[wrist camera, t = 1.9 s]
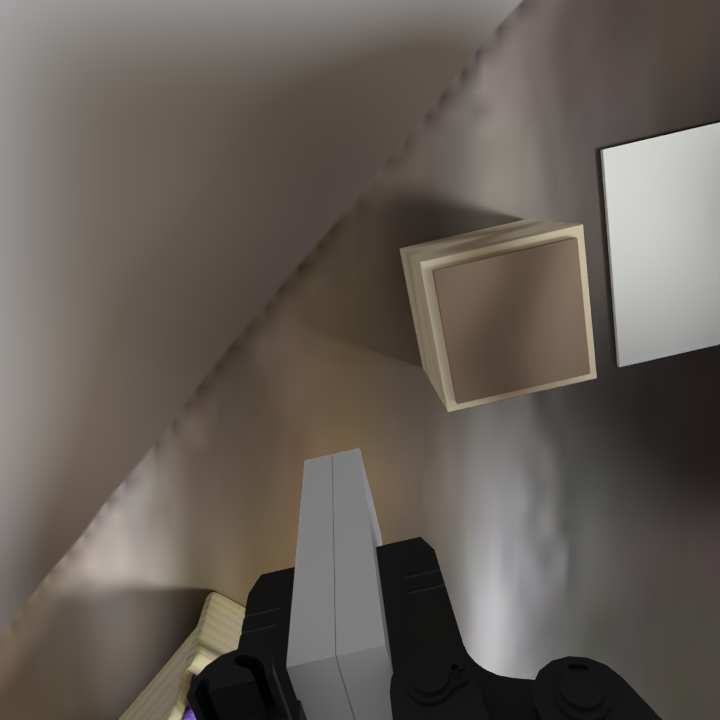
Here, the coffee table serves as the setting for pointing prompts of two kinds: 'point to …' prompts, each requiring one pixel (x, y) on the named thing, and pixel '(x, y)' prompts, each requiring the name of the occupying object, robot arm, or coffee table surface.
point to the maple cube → (502, 311)
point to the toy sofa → (190, 662)
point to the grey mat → (664, 243)
